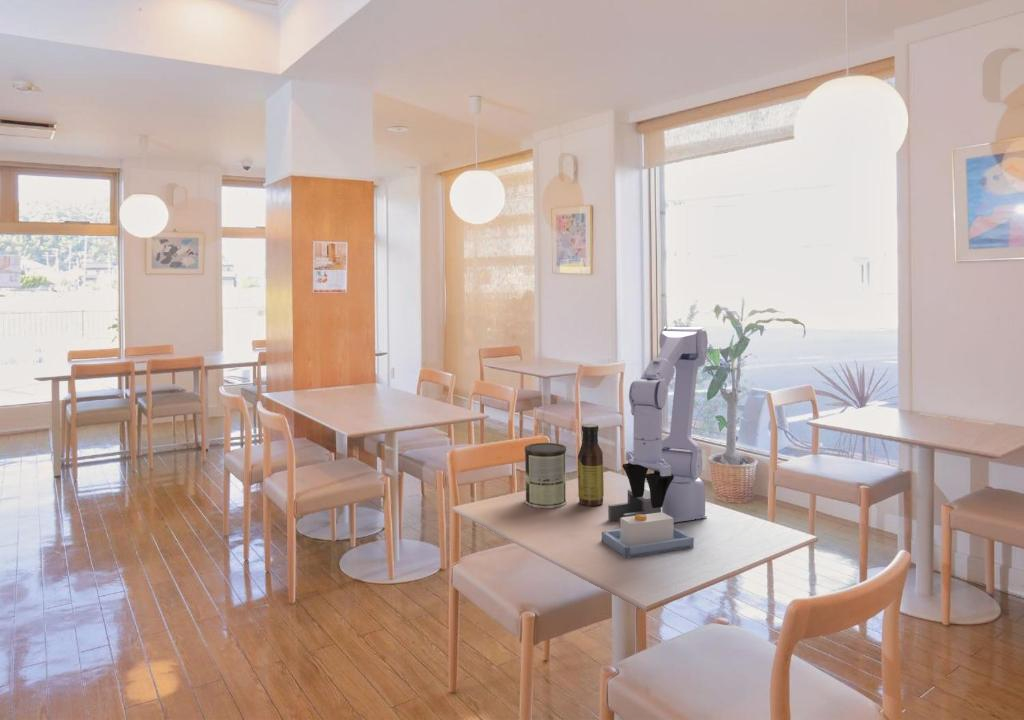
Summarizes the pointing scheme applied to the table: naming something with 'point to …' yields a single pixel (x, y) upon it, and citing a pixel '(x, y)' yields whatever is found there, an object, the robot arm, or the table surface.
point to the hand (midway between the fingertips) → (647, 501)
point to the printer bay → (632, 507)
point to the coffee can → (545, 475)
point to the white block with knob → (646, 528)
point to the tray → (677, 543)
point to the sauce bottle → (590, 468)
